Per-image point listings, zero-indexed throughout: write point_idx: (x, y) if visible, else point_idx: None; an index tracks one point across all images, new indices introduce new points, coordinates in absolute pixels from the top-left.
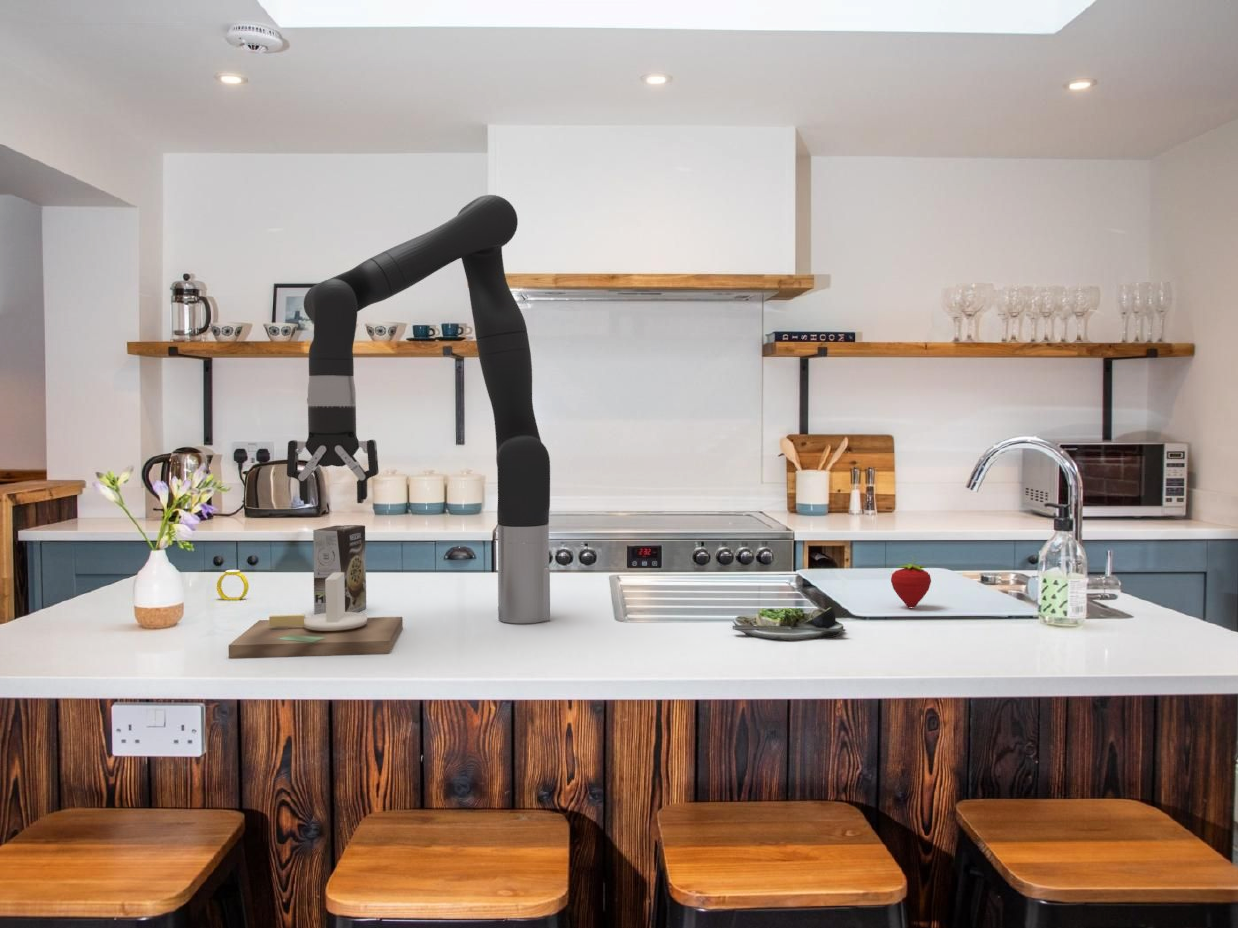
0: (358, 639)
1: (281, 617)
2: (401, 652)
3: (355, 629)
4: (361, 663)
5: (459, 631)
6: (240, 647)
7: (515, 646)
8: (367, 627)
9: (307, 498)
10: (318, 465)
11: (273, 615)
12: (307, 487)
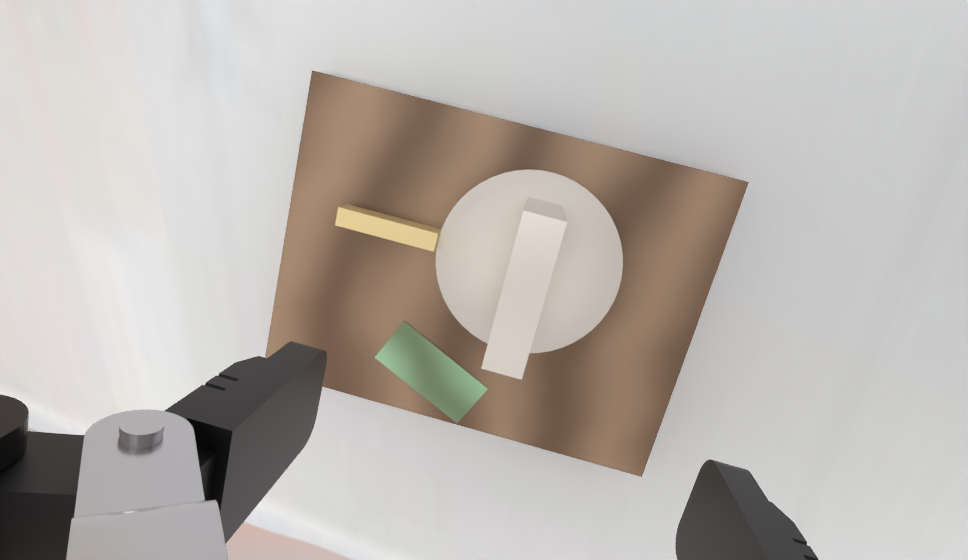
0: (569, 433)
1: (370, 234)
2: (666, 458)
3: None
4: (560, 516)
5: (885, 288)
6: None
7: (960, 512)
8: (614, 300)
9: (290, 459)
10: (223, 539)
11: (346, 212)
12: (245, 517)
